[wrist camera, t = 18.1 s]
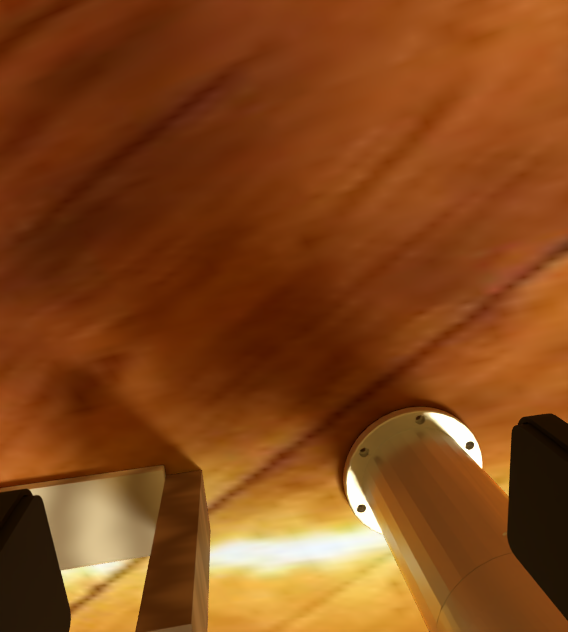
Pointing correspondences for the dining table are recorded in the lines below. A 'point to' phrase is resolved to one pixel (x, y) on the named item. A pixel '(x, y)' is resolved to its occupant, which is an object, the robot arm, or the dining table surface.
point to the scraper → (138, 536)
